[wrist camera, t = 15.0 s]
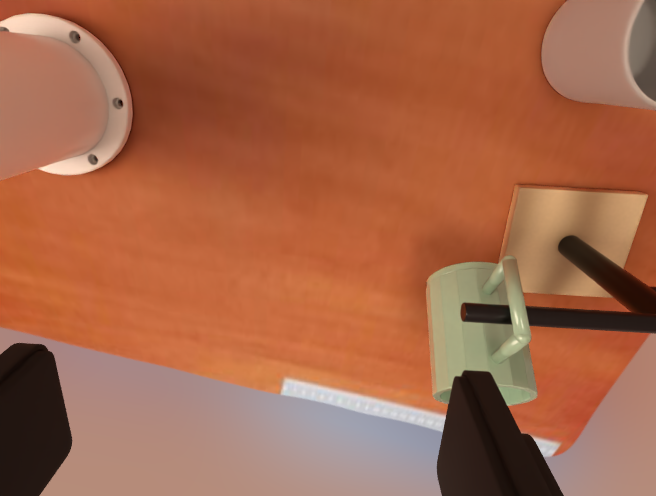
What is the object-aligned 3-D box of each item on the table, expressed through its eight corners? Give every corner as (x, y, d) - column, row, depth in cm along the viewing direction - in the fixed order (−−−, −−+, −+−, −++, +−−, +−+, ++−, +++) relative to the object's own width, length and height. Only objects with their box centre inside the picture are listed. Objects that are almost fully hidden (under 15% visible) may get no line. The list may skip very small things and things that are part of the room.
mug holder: (415, 280, 42) (453, 385, 28) (430, 179, 39) (481, 241, 25) (611, 292, 42) (748, 403, 28) (645, 191, 39) (822, 261, 24)
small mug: (497, 302, 38) (513, 409, 34) (418, 297, 38) (424, 404, 34) (559, 231, 29) (594, 369, 24) (453, 225, 29) (468, 361, 24)
